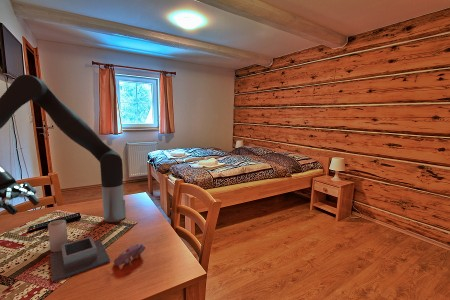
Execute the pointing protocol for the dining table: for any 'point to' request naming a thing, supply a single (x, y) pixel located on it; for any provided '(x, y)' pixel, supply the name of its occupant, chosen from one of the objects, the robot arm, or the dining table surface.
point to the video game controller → (129, 254)
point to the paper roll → (57, 235)
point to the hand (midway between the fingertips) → (27, 208)
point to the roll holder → (77, 258)
